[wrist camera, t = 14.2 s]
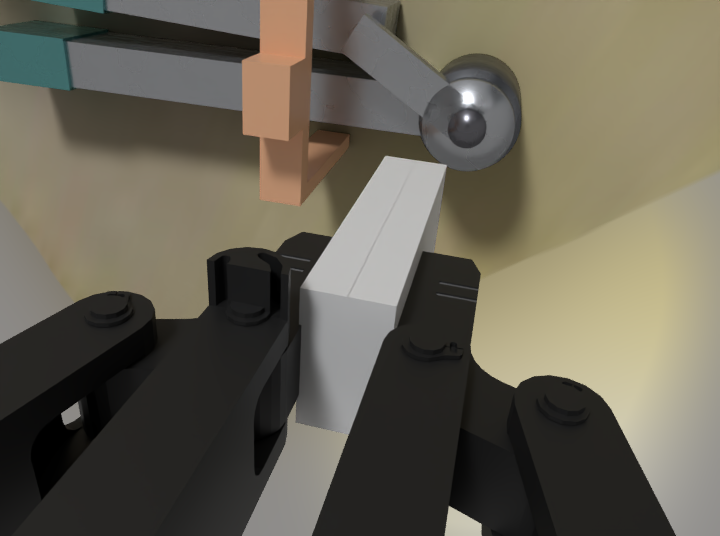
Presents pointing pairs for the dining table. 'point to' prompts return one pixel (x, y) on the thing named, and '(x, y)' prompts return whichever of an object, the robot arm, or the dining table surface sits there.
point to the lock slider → (286, 105)
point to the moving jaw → (366, 67)
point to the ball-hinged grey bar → (214, 74)
